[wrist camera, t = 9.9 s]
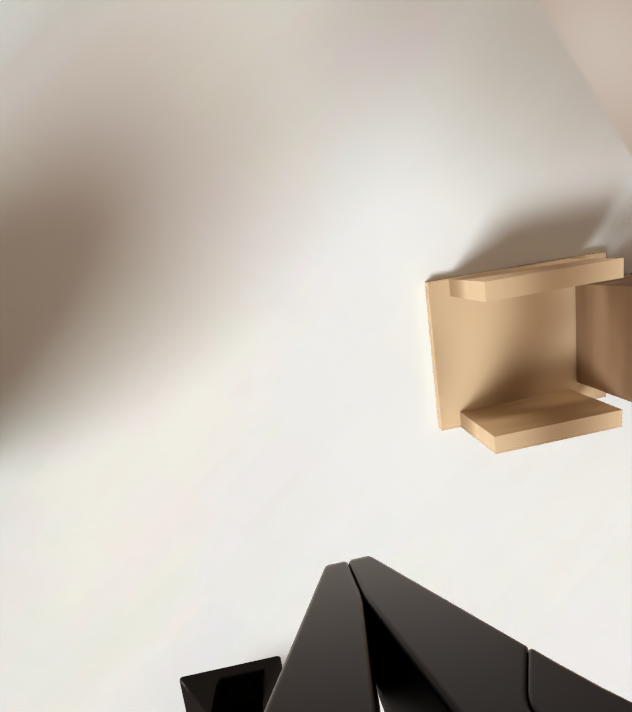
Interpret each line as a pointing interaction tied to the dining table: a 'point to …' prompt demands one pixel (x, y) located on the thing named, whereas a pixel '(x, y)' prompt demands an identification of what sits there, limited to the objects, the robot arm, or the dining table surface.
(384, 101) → the dining table surface
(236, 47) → the dining table surface
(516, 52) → the dining table surface
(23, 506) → the dining table surface
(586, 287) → the walnut block
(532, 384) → the chute
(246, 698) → the black blocky device
